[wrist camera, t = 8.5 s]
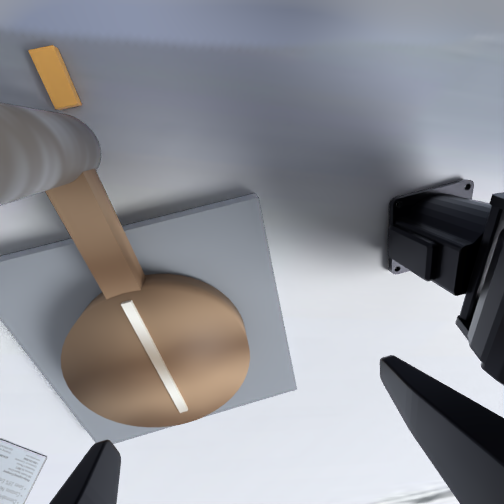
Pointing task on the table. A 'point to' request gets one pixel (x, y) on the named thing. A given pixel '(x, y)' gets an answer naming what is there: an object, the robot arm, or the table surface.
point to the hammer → (123, 290)
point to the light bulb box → (17, 472)
